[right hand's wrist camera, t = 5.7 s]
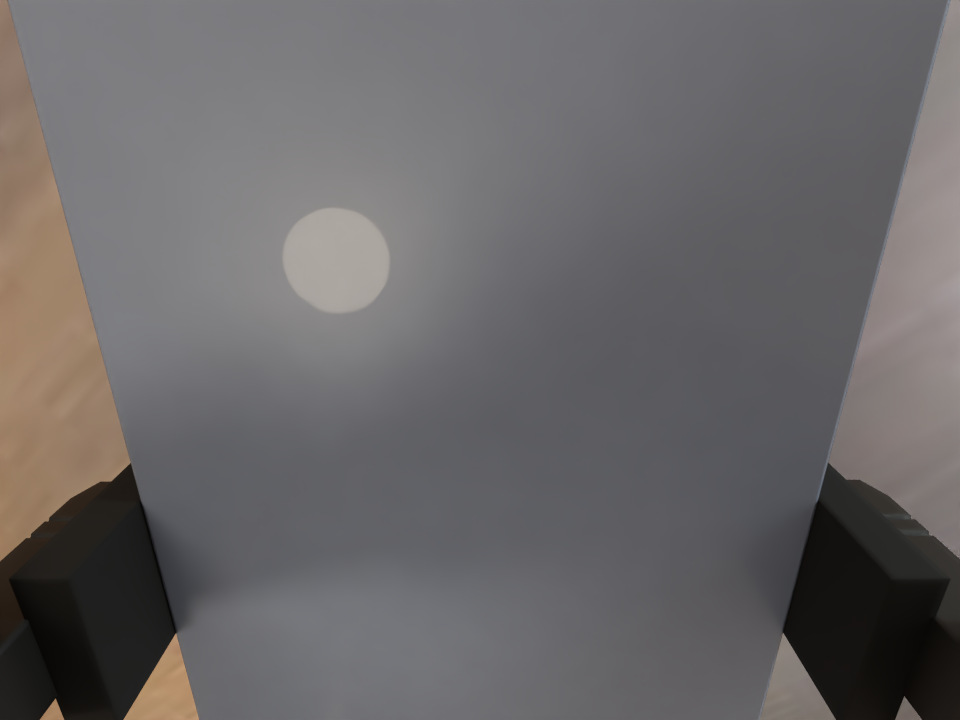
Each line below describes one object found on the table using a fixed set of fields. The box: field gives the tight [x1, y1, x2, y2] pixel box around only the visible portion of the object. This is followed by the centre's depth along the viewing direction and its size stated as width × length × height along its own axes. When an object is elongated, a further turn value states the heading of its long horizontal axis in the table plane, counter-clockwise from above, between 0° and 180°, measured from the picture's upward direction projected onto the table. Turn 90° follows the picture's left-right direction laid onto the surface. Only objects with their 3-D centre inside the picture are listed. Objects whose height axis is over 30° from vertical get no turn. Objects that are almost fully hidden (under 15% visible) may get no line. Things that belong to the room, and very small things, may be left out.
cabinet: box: [8, 0, 950, 720], centre depth 13 cm, size 16×10×10 cm, turn 0°
